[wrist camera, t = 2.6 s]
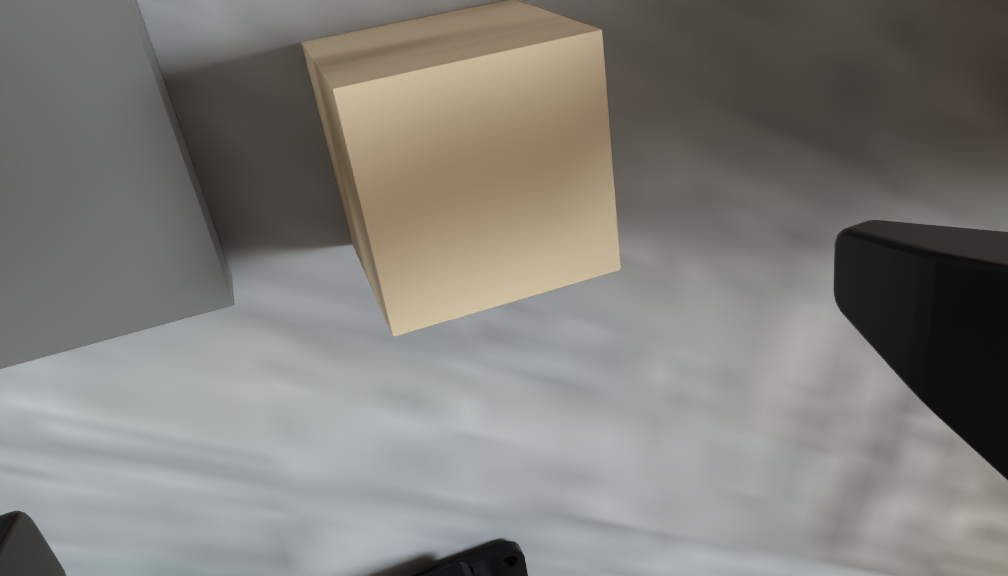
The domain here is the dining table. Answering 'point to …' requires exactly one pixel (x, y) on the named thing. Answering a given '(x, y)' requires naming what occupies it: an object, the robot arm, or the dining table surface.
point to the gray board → (94, 184)
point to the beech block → (470, 157)
